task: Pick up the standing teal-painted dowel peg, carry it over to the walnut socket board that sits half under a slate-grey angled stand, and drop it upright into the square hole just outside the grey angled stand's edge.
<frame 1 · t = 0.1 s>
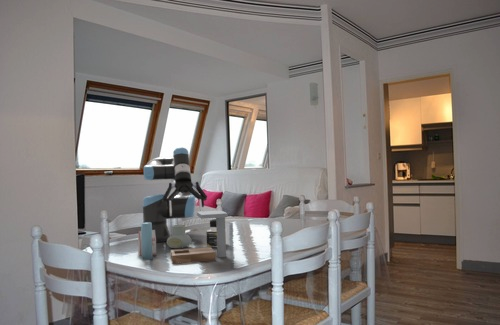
hand: (186, 213, 177), 15 cm above the table, tool tilted 35°, fingers open, 13 cm apart
socket board: (192, 258, 153), on the table
tea box: (147, 254, 165), on the table
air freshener: (179, 248, 178), on the table
medicine bottle: (217, 245, 181), on the table
grey angled stand: (221, 256, 156), on the table
peg: (147, 258, 156), on the table
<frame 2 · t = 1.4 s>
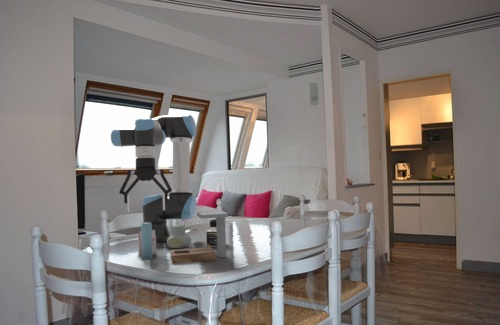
hand: (146, 211, 157), 19 cm above the table, tool pointing down, fingers open, 13 cm apart
nothing on the table moved.
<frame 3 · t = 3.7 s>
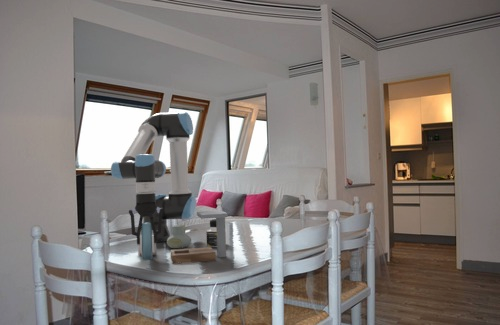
hand: (147, 251, 157), 3 cm above the table, tool pointing down, fingers closed on peg, 4 cm apart
peg: (147, 258, 157), on the table, touching gripper
everything else where it was.
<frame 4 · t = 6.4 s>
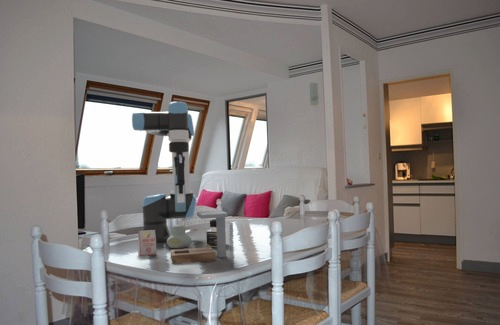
hand: (180, 202, 152), 22 cm above the table, tool pointing down, fingers closed on peg, 4 cm apart
peg: (180, 211, 152), point 19 cm above the table, touching gripper
everything else where it was.
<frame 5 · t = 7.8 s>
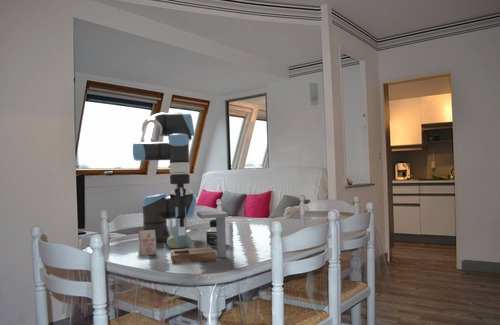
hand: (181, 234, 152), 10 cm above the table, tool pointing down, fingers closed on peg, 4 cm apart
peg: (181, 243, 152), point 6 cm above the table, touching gripper
everything else where it was.
when the fingers open (4 cm above the table, at t = 9.1 s): peg stays where it is, on the table.
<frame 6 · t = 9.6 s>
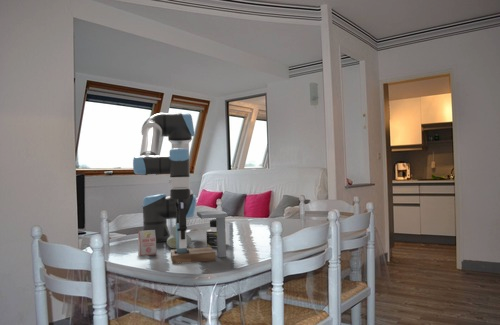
hand: (181, 245, 152), 5 cm above the table, tool pointing down, fingers open, 11 cm apart
peg: (182, 259, 152), on the table
everything else where it was.
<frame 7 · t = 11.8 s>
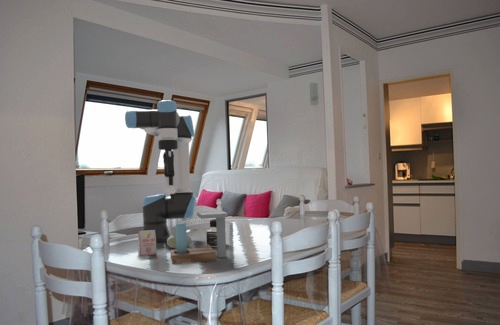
hand: (169, 192, 158), 26 cm above the table, tool pointing down, fingers open, 13 cm apart
nothing on the table moved.
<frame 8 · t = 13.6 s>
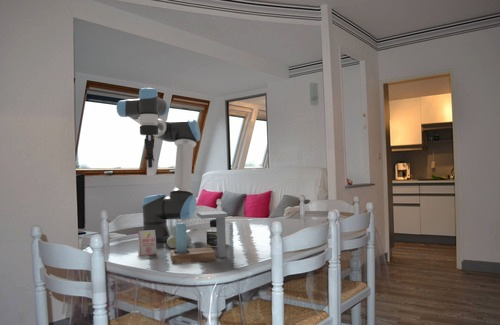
hand: (150, 176, 165), 33 cm above the table, tool pointing down, fingers open, 13 cm apart
nothing on the table moved.
at the end: peg 0.0 cm from the target spot, on the table; peg tilted 0°; the gripper is holding nothing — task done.
